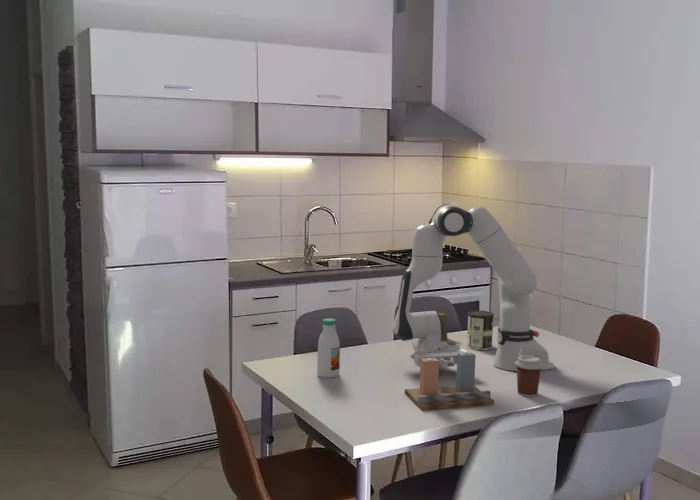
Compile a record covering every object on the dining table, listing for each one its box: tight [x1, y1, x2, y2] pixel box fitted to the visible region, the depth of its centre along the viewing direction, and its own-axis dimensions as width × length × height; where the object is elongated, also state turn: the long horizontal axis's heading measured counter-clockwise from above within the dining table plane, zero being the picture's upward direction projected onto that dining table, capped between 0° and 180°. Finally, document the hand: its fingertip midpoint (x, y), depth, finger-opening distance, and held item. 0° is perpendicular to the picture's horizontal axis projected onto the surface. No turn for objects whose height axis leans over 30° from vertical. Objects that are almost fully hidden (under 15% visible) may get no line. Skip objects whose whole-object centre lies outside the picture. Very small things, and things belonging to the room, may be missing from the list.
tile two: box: [455, 352, 476, 392], centre depth 239 cm, size 5×3×12 cm, turn 105°
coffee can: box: [466, 310, 495, 351], centre depth 298 cm, size 10×10×14 cm
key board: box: [404, 385, 495, 412], centre depth 235 cm, size 24×16×4 cm, turn 105°
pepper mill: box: [437, 312, 448, 342], centre depth 310 cm, size 6×6×11 cm
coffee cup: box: [515, 356, 543, 398], centre depth 241 cm, size 9×9×12 cm
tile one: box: [419, 358, 440, 395], centre depth 232 cm, size 5×3×12 cm, turn 105°
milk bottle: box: [316, 317, 341, 379], centre depth 256 cm, size 8×8×20 cm
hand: (450, 364), depth 251 cm, fingers closed
